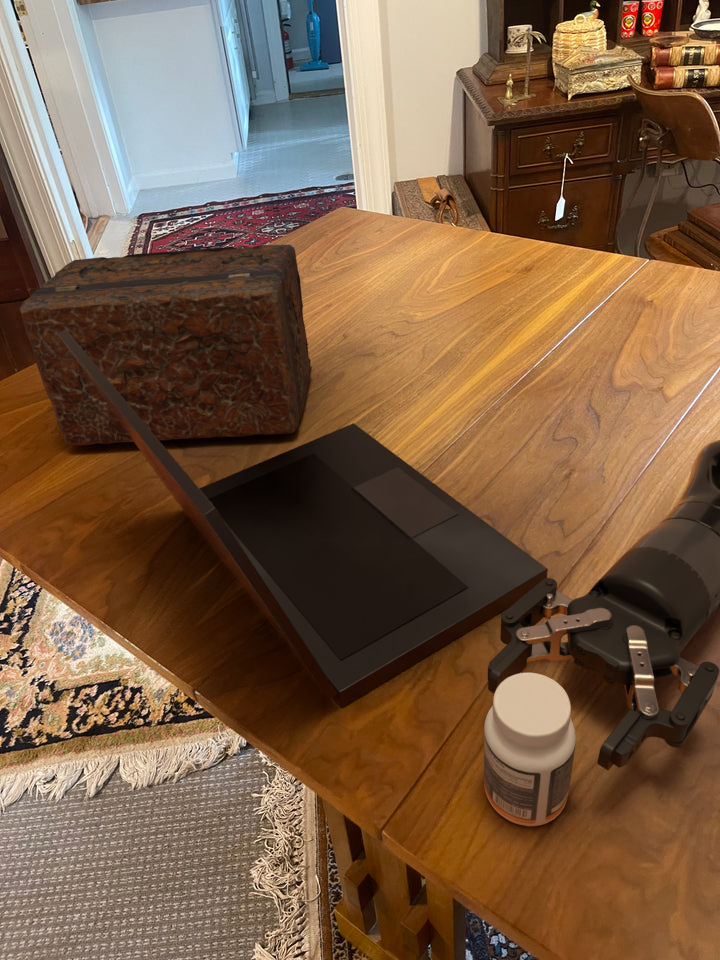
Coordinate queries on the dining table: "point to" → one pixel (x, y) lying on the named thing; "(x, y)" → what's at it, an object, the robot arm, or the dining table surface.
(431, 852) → the dining table surface
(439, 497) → the laptop
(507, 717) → the pill bottle
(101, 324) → the decorative box
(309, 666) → the laptop screen
